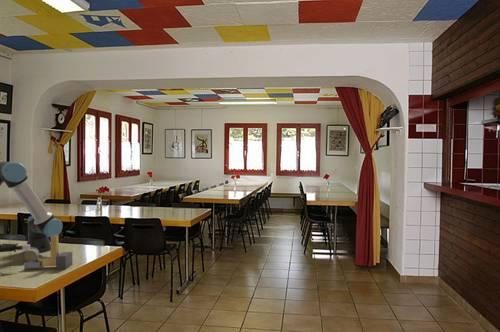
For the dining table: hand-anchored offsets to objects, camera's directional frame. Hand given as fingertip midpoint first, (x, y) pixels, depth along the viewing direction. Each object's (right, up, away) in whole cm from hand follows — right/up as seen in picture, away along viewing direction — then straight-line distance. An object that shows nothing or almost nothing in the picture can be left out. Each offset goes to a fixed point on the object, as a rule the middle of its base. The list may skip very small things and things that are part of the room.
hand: (29, 247), depth 212 cm
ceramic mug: (-7, -12, +16) cm, 21 cm away
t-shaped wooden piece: (+12, -10, +1) cm, 16 cm away
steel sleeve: (+3, -12, 0) cm, 12 cm away
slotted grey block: (+18, -11, +2) cm, 22 cm away
